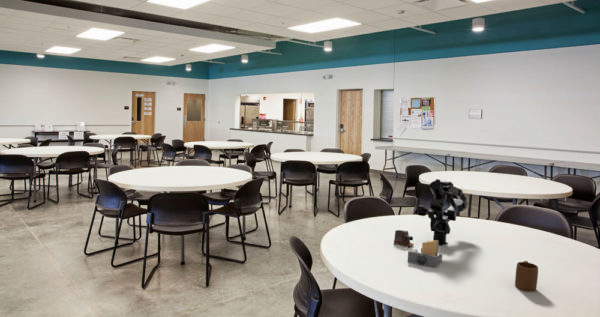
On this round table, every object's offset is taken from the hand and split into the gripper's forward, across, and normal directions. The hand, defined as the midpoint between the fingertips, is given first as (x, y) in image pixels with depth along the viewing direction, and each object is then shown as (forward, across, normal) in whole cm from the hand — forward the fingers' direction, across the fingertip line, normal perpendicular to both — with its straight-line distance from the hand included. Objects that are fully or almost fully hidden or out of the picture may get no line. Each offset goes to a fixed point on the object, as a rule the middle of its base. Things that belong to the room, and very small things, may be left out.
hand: (432, 227), depth 201 cm
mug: (+23, +42, -5) cm, 48 cm away
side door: (+19, +3, -2) cm, 19 cm away
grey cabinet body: (+20, +1, -3) cm, 21 cm away
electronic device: (+8, -14, +10) cm, 19 cm away
